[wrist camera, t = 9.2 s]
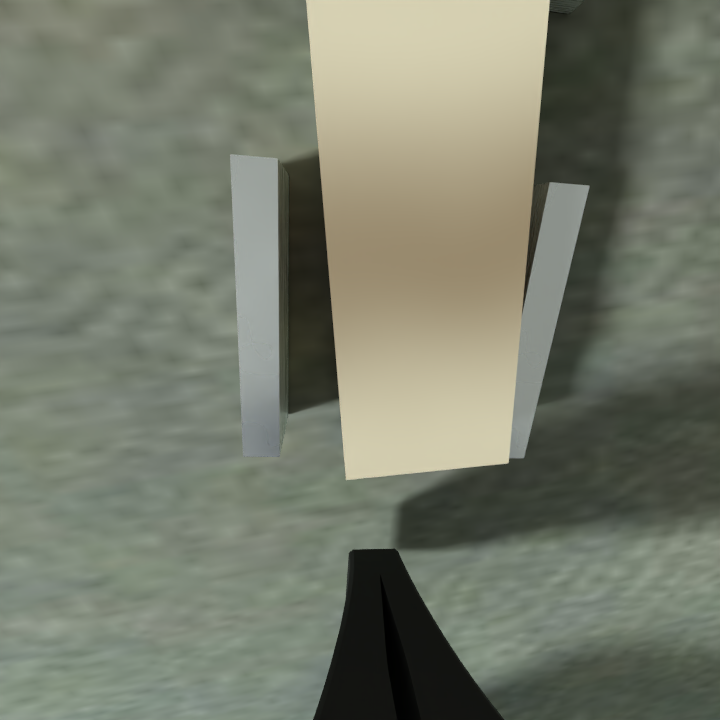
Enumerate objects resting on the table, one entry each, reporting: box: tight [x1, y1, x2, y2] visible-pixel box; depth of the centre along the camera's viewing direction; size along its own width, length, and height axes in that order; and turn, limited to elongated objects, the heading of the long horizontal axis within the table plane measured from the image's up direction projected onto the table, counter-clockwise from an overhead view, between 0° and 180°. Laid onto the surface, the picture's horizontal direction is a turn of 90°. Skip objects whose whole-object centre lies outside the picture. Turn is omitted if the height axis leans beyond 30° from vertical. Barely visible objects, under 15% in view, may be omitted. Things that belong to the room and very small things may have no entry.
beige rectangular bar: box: [306, 0, 550, 480], centre depth 8 cm, size 8×3×4 cm, turn 3°
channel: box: [230, 154, 589, 458], centre depth 9 cm, size 6×7×2 cm
